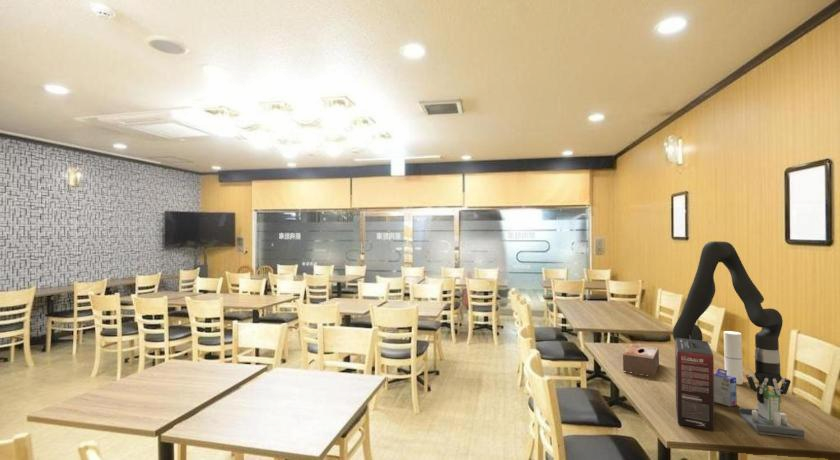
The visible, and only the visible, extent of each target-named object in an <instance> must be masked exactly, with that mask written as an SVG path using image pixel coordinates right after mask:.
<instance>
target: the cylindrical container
mask: <svg viewBox="0 0 840 460" xmlns="http://www.w3.org/2000/svg"><path fill="white" fill-rule="evenodd" d="M742 342H743V341H742V333H741V332H739V331H733V330H725V331H723V351H724V352H723V353H724V355H723V356H724V358H723V359H724V370H727V374H726V375H728V376H732V377H736V385H743V384H744V383H743V382H744V379H743V376H744V375H743V347H742V345H743V344H742Z"/></svg>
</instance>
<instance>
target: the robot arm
mask: <svg viewBox="0 0 840 460" xmlns="http://www.w3.org/2000/svg"><path fill="white" fill-rule="evenodd" d="M699 257H700V258H699V262H698V266H697V269H696V273H695V275H694V278H693V280H692V284H691V286H690V288H689V291H688V294H687V297H686V300H685V302H684V305H683V308H682V309H681V313H680V315H679V317H678V319H677V321H676V323H675V324H674V326H673V329H672V337H673V339H674V341H675V342H676V338H682V339H690V337H691V339H694V340H702V341H703V332H702V330H701V328H700V326H699V325H697V322H698V320H699V319H700V318H701V316H702V315H704V313H705V312H707V310H708V309H709V308H710V306H711V304H712V302H713V299H714V298H715V294H716V283H715V279H714V275H715V271H716V270H717V267H718V264H719V263H722V265H724V266H725V267H726V268H727V270H728V272H729V274H730V278H731V282H732V286H733V289H734V292H735V293H736V295H738V297H739V298H740V301H741V302H742V303H743V306H744V310H745V311H746V314H747V318H748V320H749V321H750V322H751V323H752V324H753V325H754V326H756V327H758V328H761V330H760V331H759V332H756V333H755V336H754V346H755V347H754V365H755V366H754V367H755V368H754V370H755V372H754V374H753V375H752V374H751V375H750V374H746V375H745V377H746V379H747V382H748V385H749V387H750V389H751V390H752V391H753V392H755V393H756V399H757V402H758V401H759V402H760V403H764V400H763V394H762V393H763V391H764V390H766V388H765V385H766V386H768V387H771V388H772V390H773V393H774V394H776V395H777V396H779V397H780V398H781V396H782V395H787V394H788V391H789V389H790V388H789V387H790V385H791V383H792V382H791V380H790V379H789V378H787V377H782V375H781V355H780V354H781V353H780V349H779V348H780V345H779V343H780V342H779V337H780V336H781V331H782V327H783V324H784V323H783V321H784V320H783V316H782V314H781V313H780V311H779V310H777V309H775V308H763V306H762V303H763V302H764V301H765V298H764V295H763V294H762V293H761V292H760V290H759V288H758V287H757V286H756V285H755V283H754V282H753V280H752V279H751V277H750V275H749V274H748V272H747V270H746V268H745V267H744V265H743V262H742V260H741V258H740V256H739V254H738V252H737V250H736V248H735V247H734V245H733V244H732V243H730V242H728V241H715V240H714V241H708V242H707V243H705V244H704V246H703V247H702V250H701V253H700V256H699ZM689 335H690V336H689ZM755 381H758V383H756V384H757V386H756V384H755ZM780 382H781V385H780V386H779V384H780ZM760 383H761V384H762V385H761V384H760Z"/></svg>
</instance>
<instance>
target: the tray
mask: <svg viewBox="0 0 840 460" xmlns="http://www.w3.org/2000/svg"><path fill="white" fill-rule="evenodd" d="M738 415H739V416H740V417H741V418H742V419H743V420H744V421H745V422H746V424H748V425H749V426H750V428H752V429H753V430H754V431H755V432H756V433H757V434H761V435H769V436H775V437H776V436H778V437H785V438H786V437H787V438H794V439H803V440H804V439H805V430H804V429H801V428H795V427H794V426H793V425H792V424H791V423H789V422H788V416H787V415H788V414H787V413H784V412H781V410H780V411H776V410H774V411H773V415H774V422H773V421H768V420H767V419H766V418H764V417H763V416H761V415H760V414H759V413H758V408H749V407H740V406H739V407H738Z"/></svg>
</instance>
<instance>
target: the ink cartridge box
mask: <svg viewBox="0 0 840 460" xmlns="http://www.w3.org/2000/svg"><path fill="white" fill-rule="evenodd" d="M726 374H727V370H725V369H722V368H717V371H716V372H715V371H714V403H718V404H721V405H723V406H727V407H730V408H731V407H733V406H737V405H738V402H737V399H738V397H737V396H738V395H737V394H738V392H737V384H736V377H732V376H728V375H726Z"/></svg>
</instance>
